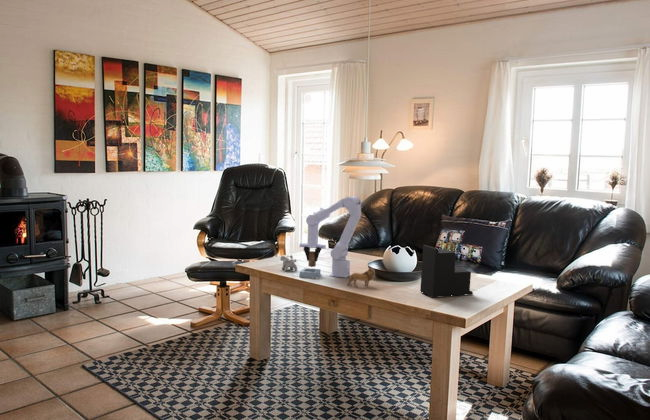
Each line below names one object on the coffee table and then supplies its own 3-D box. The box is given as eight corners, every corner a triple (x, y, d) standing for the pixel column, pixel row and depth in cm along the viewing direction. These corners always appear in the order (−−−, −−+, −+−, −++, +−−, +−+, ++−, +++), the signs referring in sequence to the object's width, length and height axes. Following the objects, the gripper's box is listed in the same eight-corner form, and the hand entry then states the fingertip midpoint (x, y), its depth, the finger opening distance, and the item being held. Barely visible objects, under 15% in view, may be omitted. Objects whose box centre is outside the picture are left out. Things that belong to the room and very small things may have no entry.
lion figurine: (372, 284, 269) (373, 267, 268) (376, 287, 264) (377, 269, 263) (345, 285, 265) (345, 267, 264) (348, 288, 260) (349, 270, 259)
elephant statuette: (287, 272, 291) (288, 259, 290) (273, 267, 300) (274, 254, 299) (299, 270, 298) (300, 257, 297) (285, 266, 306) (286, 253, 305)
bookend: (459, 289, 264) (462, 243, 262) (473, 295, 255) (476, 246, 252) (419, 292, 255) (422, 244, 253) (432, 298, 246) (435, 248, 243)
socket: (320, 274, 287) (320, 269, 287) (315, 278, 278) (315, 272, 278) (304, 273, 289) (304, 268, 289) (299, 276, 281) (299, 271, 280)
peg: (316, 265, 295) (316, 251, 294) (314, 267, 291) (314, 252, 290) (309, 265, 296) (309, 250, 295) (307, 266, 292) (307, 252, 291)
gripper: (327, 236, 294) (326, 260, 295) (302, 234, 298) (301, 258, 299) (324, 238, 287) (323, 262, 288) (298, 236, 291) (298, 260, 292)
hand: (312, 260), depth 293 cm, fingers closed on peg, 4 cm apart
